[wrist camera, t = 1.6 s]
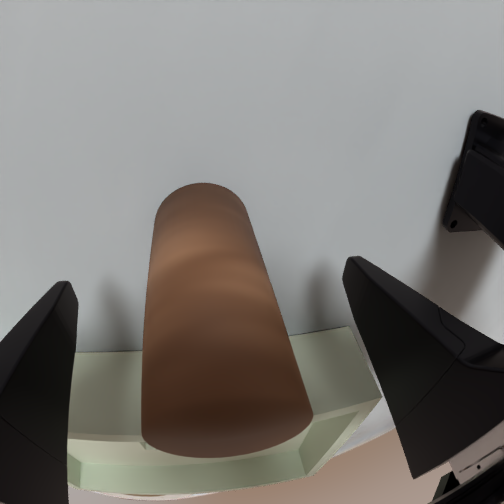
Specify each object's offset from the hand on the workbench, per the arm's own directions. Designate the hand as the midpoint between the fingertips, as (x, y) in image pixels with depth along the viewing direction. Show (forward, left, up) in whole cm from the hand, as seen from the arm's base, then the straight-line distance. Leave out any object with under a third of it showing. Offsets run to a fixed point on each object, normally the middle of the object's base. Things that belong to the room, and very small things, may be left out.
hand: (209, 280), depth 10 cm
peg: (0, 0, -3) cm, 3 cm away
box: (+4, +17, -3) cm, 17 cm away
